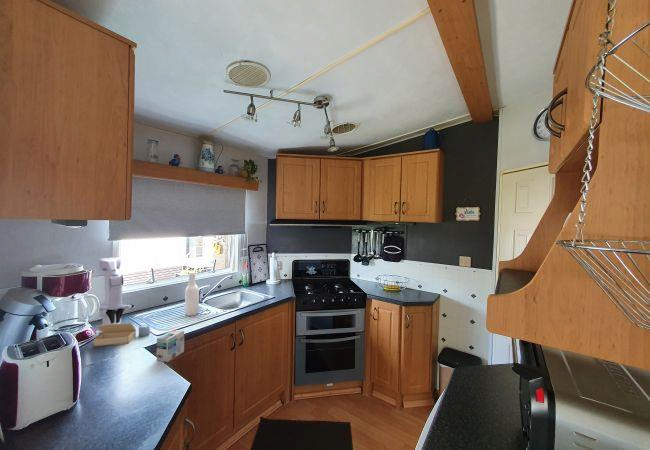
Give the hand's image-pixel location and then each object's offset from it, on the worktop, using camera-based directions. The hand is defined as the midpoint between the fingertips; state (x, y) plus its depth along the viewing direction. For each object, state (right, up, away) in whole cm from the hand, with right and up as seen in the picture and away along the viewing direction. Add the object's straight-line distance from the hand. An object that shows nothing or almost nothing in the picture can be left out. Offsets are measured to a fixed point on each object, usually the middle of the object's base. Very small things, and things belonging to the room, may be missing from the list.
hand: (115, 322), depth 139 cm
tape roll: (+10, -11, +9) cm, 17 cm away
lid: (0, -4, +1) cm, 4 cm away
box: (0, -10, 0) cm, 10 cm away
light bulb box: (+39, -11, -14) cm, 43 cm away
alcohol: (+20, -11, +43) cm, 48 cm away
